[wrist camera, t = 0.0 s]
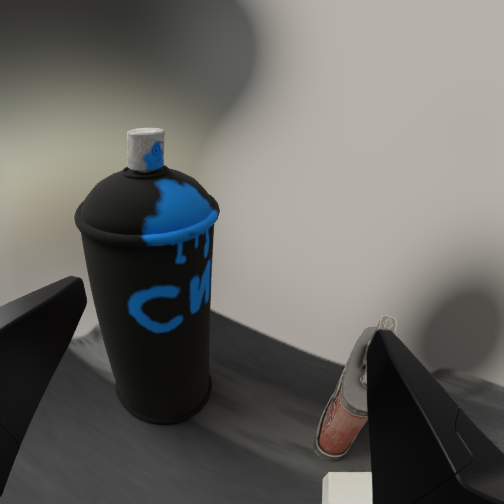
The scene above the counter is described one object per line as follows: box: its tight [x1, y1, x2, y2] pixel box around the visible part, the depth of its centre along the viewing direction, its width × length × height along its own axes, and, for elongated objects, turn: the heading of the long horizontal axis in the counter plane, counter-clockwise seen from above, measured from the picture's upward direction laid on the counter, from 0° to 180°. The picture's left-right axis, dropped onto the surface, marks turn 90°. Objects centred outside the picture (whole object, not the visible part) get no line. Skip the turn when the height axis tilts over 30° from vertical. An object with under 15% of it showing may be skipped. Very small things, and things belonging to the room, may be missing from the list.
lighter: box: [314, 315, 399, 461], centre depth 21 cm, size 8×3×10 cm, turn 153°
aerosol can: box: [75, 128, 220, 424], centre depth 20 cm, size 8×8×20 cm
